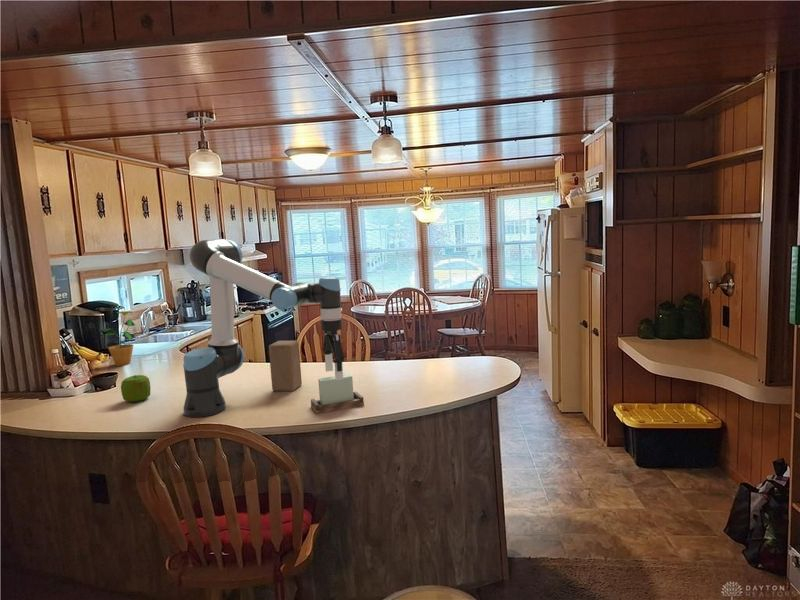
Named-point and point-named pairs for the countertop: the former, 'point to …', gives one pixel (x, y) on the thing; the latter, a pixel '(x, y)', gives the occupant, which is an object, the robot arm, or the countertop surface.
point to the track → (337, 404)
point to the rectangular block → (335, 389)
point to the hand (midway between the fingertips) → (334, 375)
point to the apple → (135, 388)
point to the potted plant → (121, 352)
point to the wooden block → (285, 365)
